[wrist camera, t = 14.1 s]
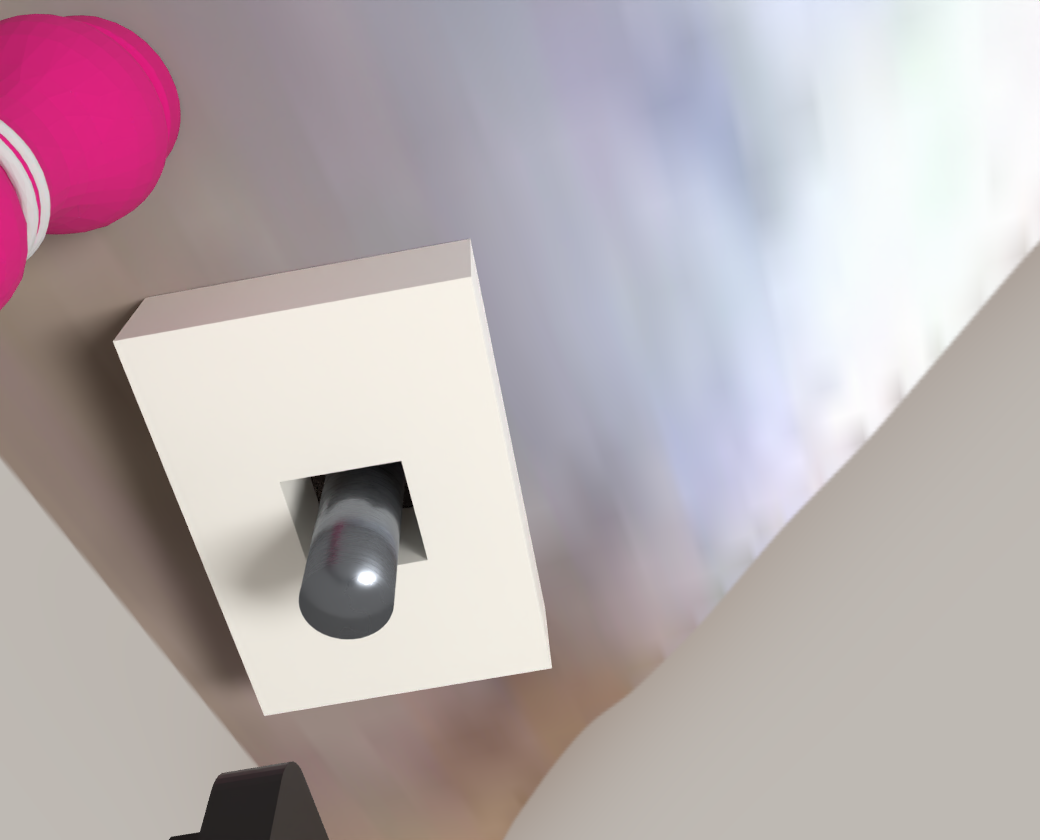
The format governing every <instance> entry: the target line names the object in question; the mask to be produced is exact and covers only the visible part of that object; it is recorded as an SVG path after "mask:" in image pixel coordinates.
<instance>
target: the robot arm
mask: <svg viewBox="0 0 1040 840" xmlns="http://www.w3.org/2000/svg"><path fill="white" fill-rule="evenodd" d="M169 840H329V838H328V836H327V833H326V831H325V828H324V826H323V823H322V821H321V818H320V816H319V813H318V811H317V808H316V806H315V803H314V800H313V798H312V795H311V793H310V790H309V788H308V785H307V783H306V780H305V778H304V775H303V773H302V771H301V769H300V767H299V766H298V765H297V764H296V763H295V762H287V763H281V764H275V765H269V766H263V767H257V768H251V769H244V770H238V771H232V772H227V773H222V774H220V775H219V776H218V777H217V779H216V781H215V782H214V784H213V787H212V790H211V794H210V797H209V801H208V805H207V808H206V812H205V816H204V819H203V823H202V827H201V831H200V832H199V833H193V834H186V835H180V836H174V837H171V838H170V839H169Z"/></svg>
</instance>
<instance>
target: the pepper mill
mask: <svg viewBox="0 0 1040 840" xmlns="http://www.w3.org/2000/svg"><path fill="white" fill-rule="evenodd" d="M179 127H180V103H179V98H178V94H177V90H176V87H175V84H174V82H173V80H172V78H171V75H170V73H169V71H168V69H167V68H166V66H165V65H164V63H163V61H162V60H161V58H160V57H159V56H158V55H157V54H156V52H155V51H154V50H153V49H152V48H151V47H150V46H149V45H148V44H147V43H146V42H145V41H144V40H143V39H141V38H140V37H139V36H137V35H136V34H135V33H134V32H132V31H130V30H129V29H127V28H125V27H123V26H121V25H119V24H117V23H115V22H111V21H108V20H105V19H102V18H99V17H94V16H66V17H61V16H56V15H50V14H30V15H20V16H15V17H11V18H8V19H4V20H1V21H0V310H1V309H2V308H3V307H4V306H5V304H6V303H7V302H8V301H9V300H10V298H11V297H12V295H13V293H14V292H15V290H16V288H17V286H18V285H19V283H20V281H21V280H22V277H23V272H24V268H25V263H26V260H27V259H29V258H30V257H31V256H32V255H33V254H34V252H35V251H36V250H37V249H38V247H39V246H40V244H41V243H42V241H43V239H44V238H45V234H70V233H80V232H87V231H90V230H94V229H97V228H101V227H104V226H107V225H109V224H111V223H113V222H115V221H116V220H118V219H120V218H122V217H123V216H125V215H127V214H128V213H130V212H131V211H133V210H134V209H135V208H136V207H138V206H139V205H140V204H141V203H142V202H143V201H144V200H145V199H146V198H147V197H148V195H149V194H150V193H151V192H152V190H153V189H154V187H155V185H156V183H157V182H158V180H159V178H160V175H161V173H162V170H163V168H164V165H165V160H166V158H167V157H168V155H169V153H170V152H171V150H172V149H173V146H174V144H175V142H176V139H177V136H178V132H179Z"/></svg>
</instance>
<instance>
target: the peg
mask: <svg viewBox="0 0 1040 840" xmlns="http://www.w3.org/2000/svg"><path fill="white" fill-rule="evenodd" d="M404 485H405V473H404V469H403V465H402V461H397V462H392V463H386V464H380V465H374V466H369V467H363V468H357V469H351V470H346V471H340V472H334V473H329V474H326V477H325V481H324V486H323V490H322V495H321V499H320V504H319V508H318V513H317V517H316V522H315V526H314V531H313V535H312V540H311V544H310V549H309V553H308V558H307V562H306V567H305V571H304V576H303V580H302V584H301V589H300V593H299V608H300V611H301V613H302V616H303V617H304V619H305V620H306V621H307V623H308V624H309V625H310V626H311V627H313V628H314V629H315V630H317V631H318V632H320V633H322V634H324V635H327V636H329V637H333V638H337V639H346V640H347V639H359V638H363V637H366V636H369V635H372V634H374V633H375V632H377V631H379V630H380V629H381V628H382V627H384V626H385V624H386V623H387V622H388V621H389V619H390V617H391V615H392V613H393V609H394V599H395V588H396V576H397V565H398V554H399V542H400V531H401V519H402V508H403V497H404Z"/></svg>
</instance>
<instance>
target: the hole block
mask: <svg viewBox="0 0 1040 840" xmlns="http://www.w3.org/2000/svg"><path fill="white" fill-rule="evenodd" d="M113 343H114V346H115V348H116V351H117V353H118V355H119V358H120V360H121V363H122V365H123V368H124V370H125V373H126V375H127V378H128V380H129V383H130V385H131V388H132V390H133V392H134V395H135V397H136V400H137V402H138V405H139V407H140V410H141V412H142V415H143V417H144V420H145V422H146V425H147V427H148V430H149V432H150V434H151V437H152V439H153V442H154V444H155V447H156V449H157V452H158V454H159V457H160V459H161V462H162V464H163V467H164V469H165V471H166V474H167V476H168V479H169V481H170V484H171V486H172V489H173V491H174V494H175V496H176V499H177V501H178V504H179V506H180V509H181V511H182V513H183V516H184V518H185V521H186V523H187V526H188V528H189V531H190V533H191V536H192V538H193V541H194V543H195V546H196V548H197V550H198V553H199V555H200V558H201V560H202V563H203V565H204V568H205V570H206V573H207V575H208V578H209V580H210V583H211V585H212V588H213V590H214V592H215V595H216V597H217V600H218V602H219V605H220V607H221V610H222V612H223V615H224V617H225V620H226V622H227V625H228V627H229V629H230V632H231V634H232V637H233V639H234V642H235V644H236V647H237V649H238V652H239V654H240V657H241V659H242V662H243V664H244V667H245V669H246V671H247V674H248V676H249V679H250V681H251V684H252V686H253V689H254V691H255V694H256V696H257V699H258V701H259V704H260V706H261V709H262V711H263V713H264V716H266V715H272V714H278V713H284V712H290V711H296V710H302V709H308V708H314V707H320V706H326V705H332V704H339V703H345V702H351V701H357V700H363V699H369V698H375V697H381V696H387V695H393V694H399V693H405V692H411V691H417V690H423V689H429V688H435V687H441V686H447V685H453V684H459V683H465V682H471V681H477V680H483V679H489V678H495V677H501V676H507V675H513V674H519V673H525V672H531V671H537V670H543V669H549V668H552V665H551V657H550V648H549V639H548V631H547V622H546V613H545V606H544V601H543V596H542V591H541V586H540V581H539V576H538V571H537V566H536V561H535V556H534V551H533V546H532V541H531V536H530V532H529V527H528V522H527V517H526V512H525V507H524V502H523V497H522V492H521V487H520V482H519V477H518V472H517V467H516V462H515V457H514V453H513V448H512V443H511V438H510V433H509V428H508V423H507V418H506V413H505V408H504V403H503V398H502V393H501V388H500V383H499V378H498V373H497V369H496V364H495V359H494V354H493V349H492V344H491V339H490V334H489V329H488V324H487V319H486V314H485V309H484V304H483V299H482V294H481V289H480V285H479V280H478V275H477V270H476V265H475V260H474V255H473V250H472V245H471V240H470V239H466V240H460V241H455V242H449V243H444V244H438V245H433V246H427V247H422V248H416V249H411V250H405V251H400V252H394V253H389V254H383V255H378V256H372V257H367V258H361V259H356V260H350V261H345V262H339V263H334V264H328V265H323V266H317V267H312V268H306V269H301V270H295V271H290V272H284V273H279V274H273V275H268V276H262V277H257V278H252V279H246V280H241V281H235V282H230V283H224V284H219V285H213V286H208V287H202V288H197V289H191V290H186V291H180V292H175V293H169V294H164V295H158V296H153V297H147V298H145V299H144V300H143V302H142V303H141V304H140V306H139V307H138V308H137V310H136V311H135V312H134V314H133V315H132V316H131V318H130V319H129V320H128V322H127V323H126V324H125V326H124V327H123V328H122V330H121V331H120V332H119V334H118V335H117V336H116V338H115V339H114V340H113ZM397 461H402V465H403V469H404V473H405V476H406V480H407V484H408V488H409V491H410V495H411V499H412V502H413V506H414V507H408V508H403V509H402V519H401V531H400V542H399V554H398V565H397V576H396V588H395V599H394V609H393V613H392V615H391V617H390V619H389V621H388V622H387V623H386V624H385V626H384V627H382V628H381V629H380V630H379V631H377V632H375V633H374V634H372V635H369V636H366V637H363V638H359V639H347V640H346V639H337V638H333V637H329V636H327V635H324V634H322V633H320V632H318V631H317V630H315V629H314V628H313V627H311V626H310V625H309V624H308V623H307V621H306V620H305V619H304V617H303V616H302V613H301V611H300V608H299V593H300V589H301V584H302V580H303V576H304V571H305V567H306V562H307V558H308V553H309V549H310V544H311V540H312V535H313V531H314V526H315V522H316V517H317V513H318V508H319V502H318V499H317V496H316V493H315V490H314V487H313V484H312V481H311V476H317V475H323V474H329V473H334V472H340V471H346V470H351V469H357V468H363V467H369V466H374V465H380V464H386V463H392V462H397Z"/></svg>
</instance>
